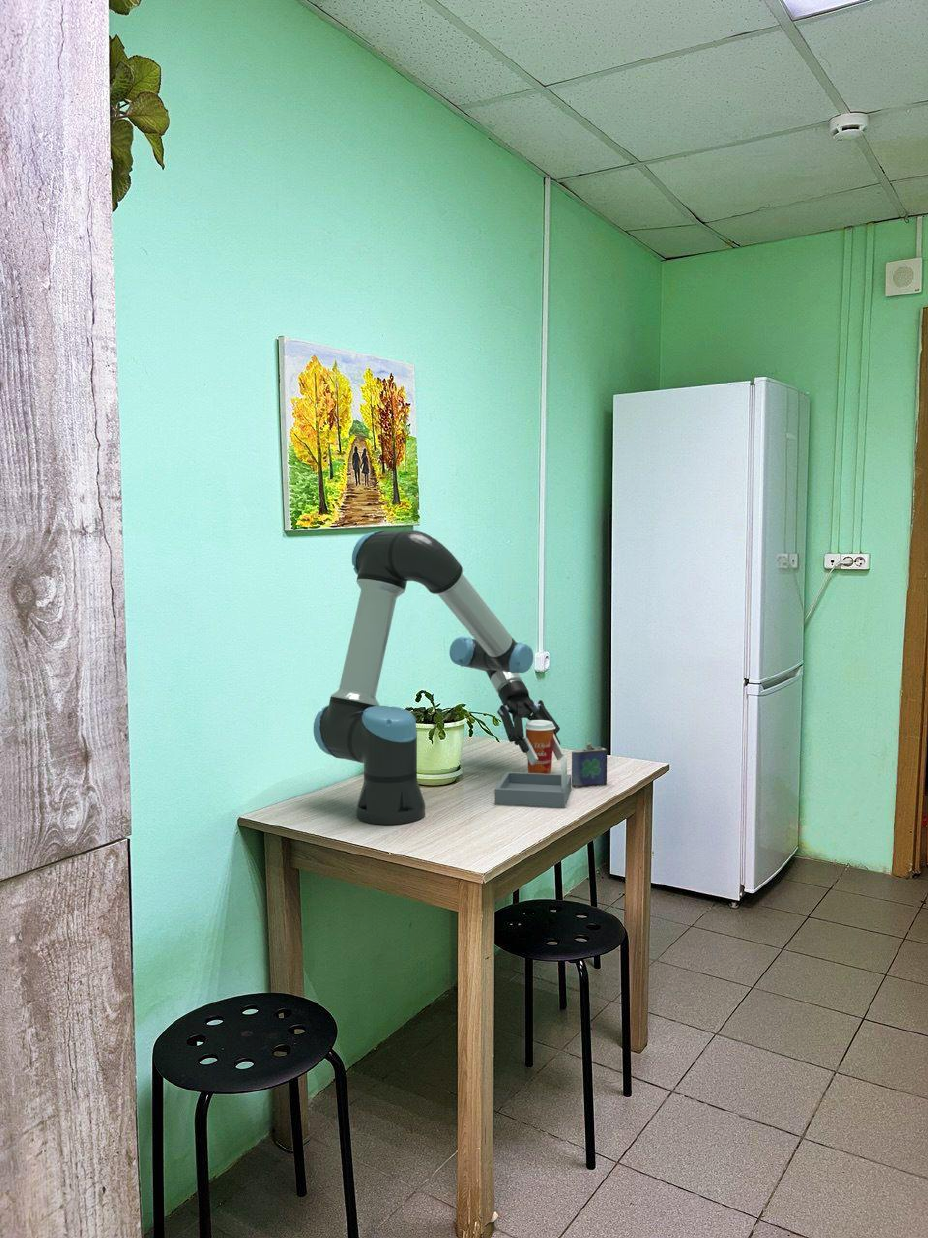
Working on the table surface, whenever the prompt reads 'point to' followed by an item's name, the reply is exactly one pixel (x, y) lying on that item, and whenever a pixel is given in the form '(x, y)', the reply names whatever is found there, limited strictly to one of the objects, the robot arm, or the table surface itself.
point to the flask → (589, 766)
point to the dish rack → (534, 788)
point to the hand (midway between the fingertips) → (548, 759)
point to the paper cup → (540, 744)
